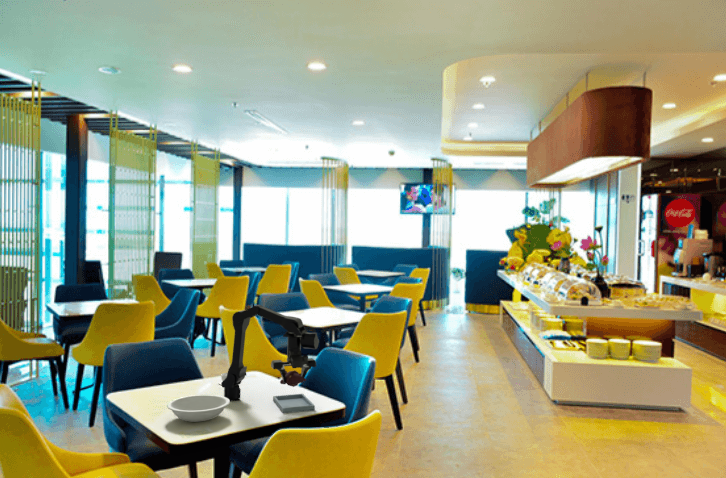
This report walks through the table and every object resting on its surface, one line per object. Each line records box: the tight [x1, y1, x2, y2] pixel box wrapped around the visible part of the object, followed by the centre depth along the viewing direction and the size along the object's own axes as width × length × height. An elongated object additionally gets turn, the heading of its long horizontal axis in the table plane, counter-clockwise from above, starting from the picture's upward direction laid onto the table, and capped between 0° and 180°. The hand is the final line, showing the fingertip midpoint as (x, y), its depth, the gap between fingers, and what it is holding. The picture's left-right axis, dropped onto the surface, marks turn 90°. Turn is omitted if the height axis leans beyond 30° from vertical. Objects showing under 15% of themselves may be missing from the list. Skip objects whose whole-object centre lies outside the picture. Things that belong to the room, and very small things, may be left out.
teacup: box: [217, 372, 228, 386], centre depth 283 cm, size 10×10×5 cm
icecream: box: [279, 369, 307, 388], centre depth 247 cm, size 7×7×15 cm
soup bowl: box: [166, 394, 231, 423], centre depth 226 cm, size 24×24×7 cm
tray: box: [272, 393, 316, 414], centre depth 247 cm, size 14×20×2 cm
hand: (293, 383), depth 247 cm, fingers closed on icecream, 7 cm apart
